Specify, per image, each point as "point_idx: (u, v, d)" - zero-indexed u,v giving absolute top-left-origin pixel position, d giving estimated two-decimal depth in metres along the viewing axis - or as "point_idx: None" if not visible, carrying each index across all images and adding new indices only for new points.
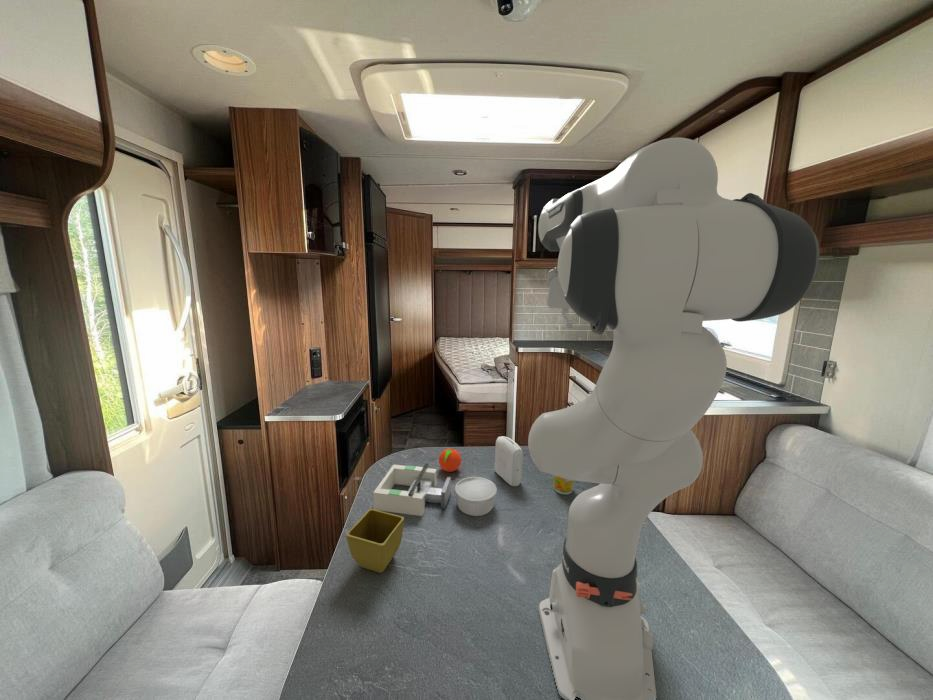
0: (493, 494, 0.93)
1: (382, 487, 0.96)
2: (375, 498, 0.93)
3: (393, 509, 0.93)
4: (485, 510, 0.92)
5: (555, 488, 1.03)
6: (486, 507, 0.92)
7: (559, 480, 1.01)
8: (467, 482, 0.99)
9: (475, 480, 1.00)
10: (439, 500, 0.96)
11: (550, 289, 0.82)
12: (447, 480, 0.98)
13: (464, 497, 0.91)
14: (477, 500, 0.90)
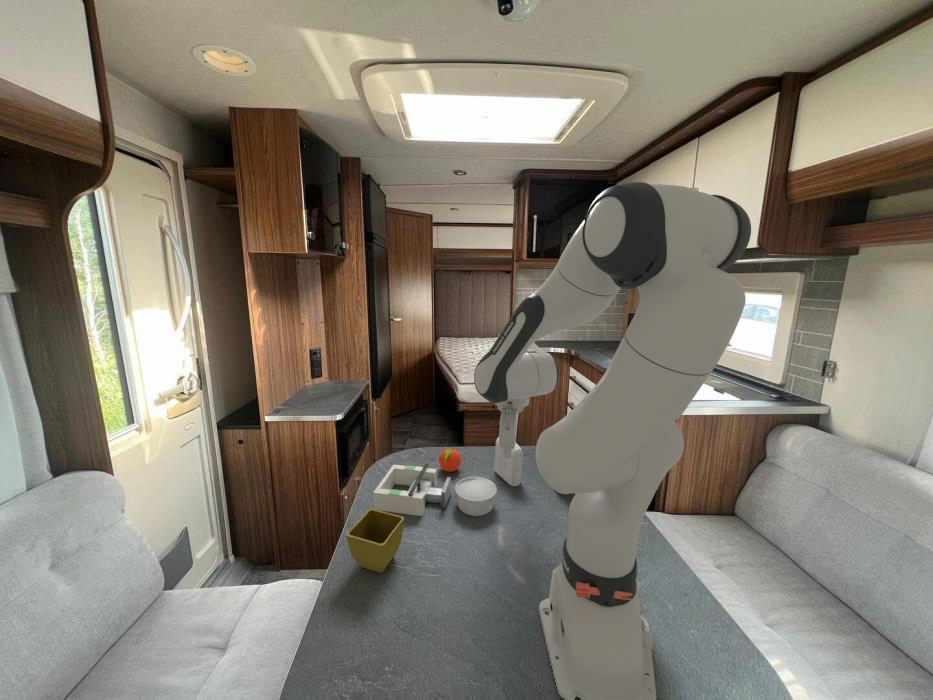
0: (493, 494, 0.93)
1: (382, 487, 0.96)
2: (375, 498, 0.93)
3: (393, 509, 0.93)
4: (485, 510, 0.92)
5: None
6: (486, 507, 0.92)
7: None
8: (467, 482, 0.99)
9: (475, 480, 1.00)
10: (439, 500, 0.96)
11: (515, 432, 0.80)
12: (447, 480, 0.98)
13: (464, 497, 0.91)
14: (477, 500, 0.90)
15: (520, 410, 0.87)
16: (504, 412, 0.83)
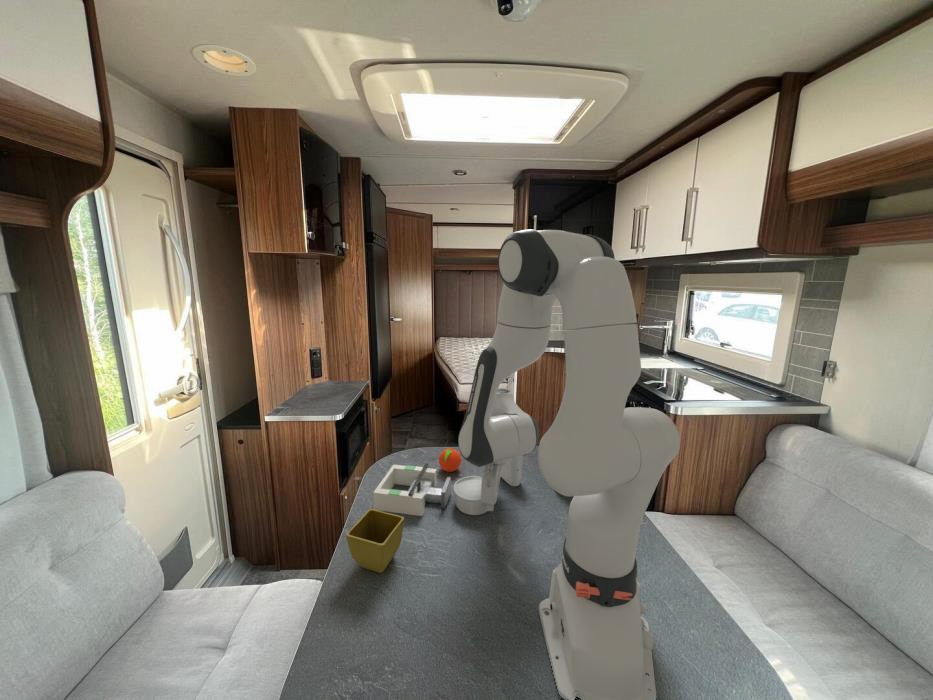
0: None
1: (382, 487, 0.96)
2: (375, 498, 0.93)
3: (393, 509, 0.93)
4: (483, 510, 0.92)
5: None
6: (484, 507, 0.92)
7: None
8: (466, 481, 0.99)
9: (474, 479, 1.00)
10: (439, 500, 0.96)
11: (495, 489, 0.84)
12: (447, 480, 0.98)
13: (462, 496, 0.91)
14: (475, 499, 0.90)
15: (502, 464, 0.91)
16: (486, 468, 0.87)
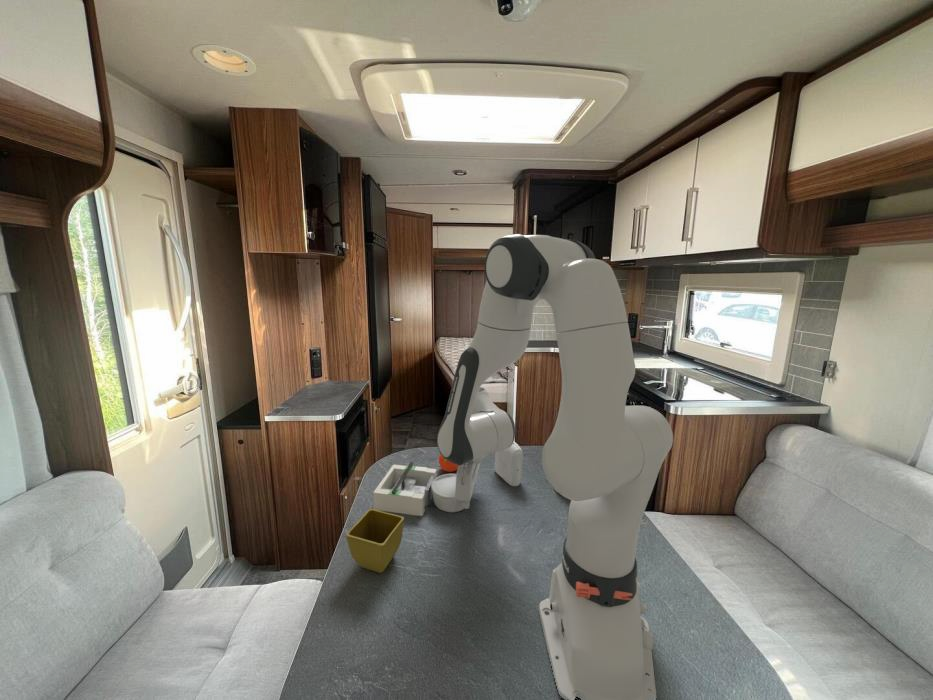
0: None
1: (382, 487, 0.96)
2: (375, 498, 0.93)
3: (393, 509, 0.93)
4: (459, 507, 0.93)
5: None
6: (460, 504, 0.93)
7: None
8: (446, 478, 1.00)
9: (454, 477, 1.01)
10: None
11: (469, 486, 0.85)
12: (431, 478, 0.99)
13: (438, 493, 0.93)
14: (450, 496, 0.91)
15: (478, 462, 0.92)
16: (461, 466, 0.87)
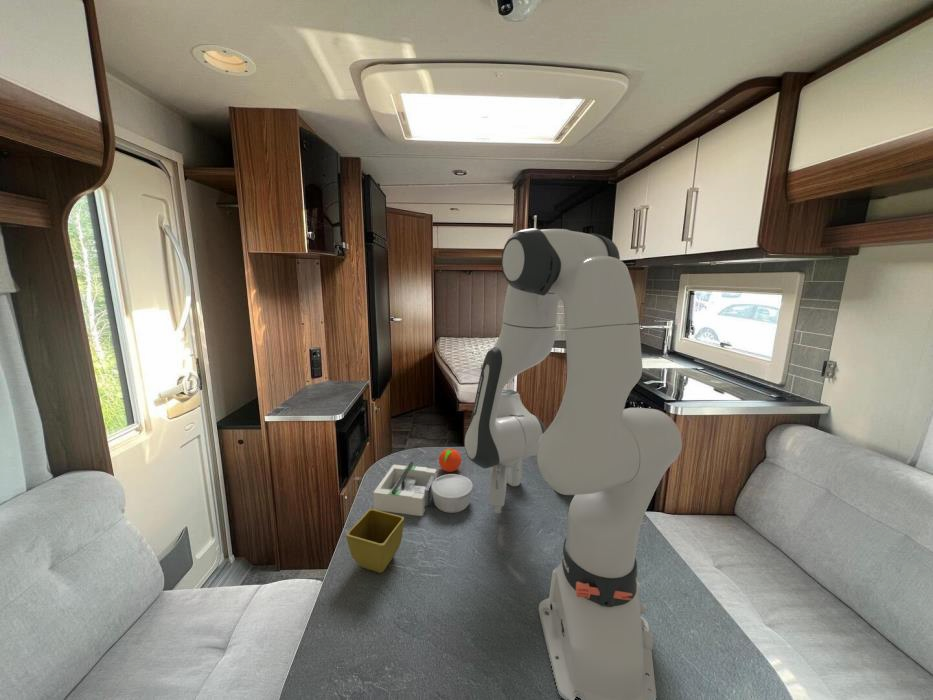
0: (467, 492, 0.93)
1: (382, 487, 0.96)
2: (375, 498, 0.93)
3: (393, 509, 0.93)
4: (459, 508, 0.93)
5: None
6: (460, 505, 0.93)
7: None
8: (446, 479, 1.00)
9: (454, 477, 1.01)
10: None
11: (504, 491, 0.83)
12: (431, 478, 0.99)
13: (438, 493, 0.93)
14: (450, 497, 0.91)
15: (510, 466, 0.90)
16: (494, 470, 0.86)
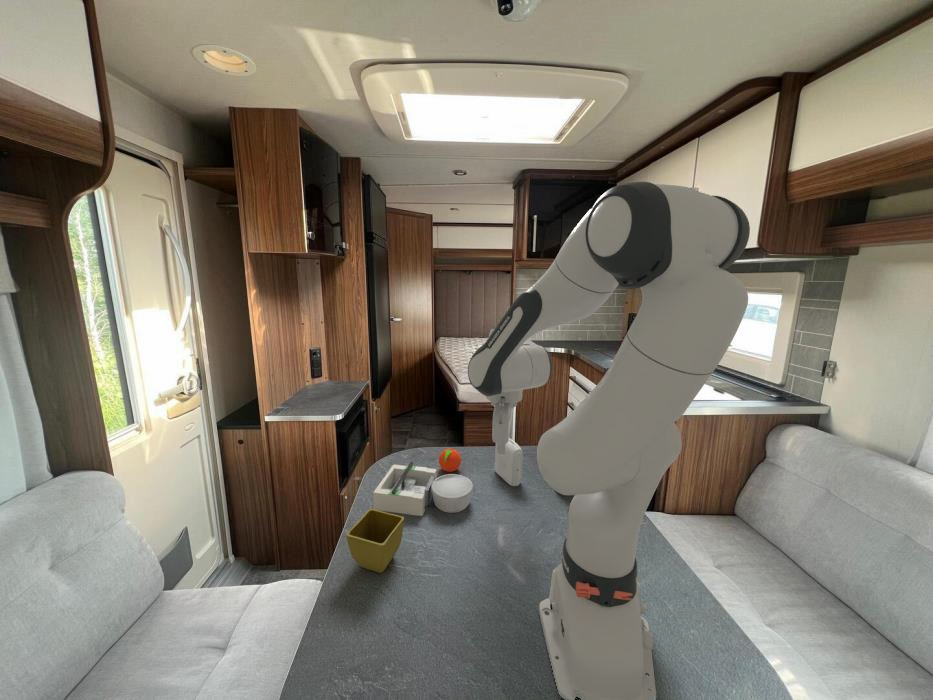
0: (467, 492, 0.93)
1: (382, 487, 0.96)
2: (375, 498, 0.93)
3: (393, 509, 0.93)
4: (459, 508, 0.93)
5: None
6: (460, 505, 0.93)
7: None
8: (446, 479, 1.00)
9: (454, 477, 1.01)
10: None
11: (508, 425, 0.80)
12: (431, 478, 0.99)
13: (438, 493, 0.93)
14: (450, 497, 0.91)
15: (513, 405, 0.87)
16: (497, 407, 0.83)
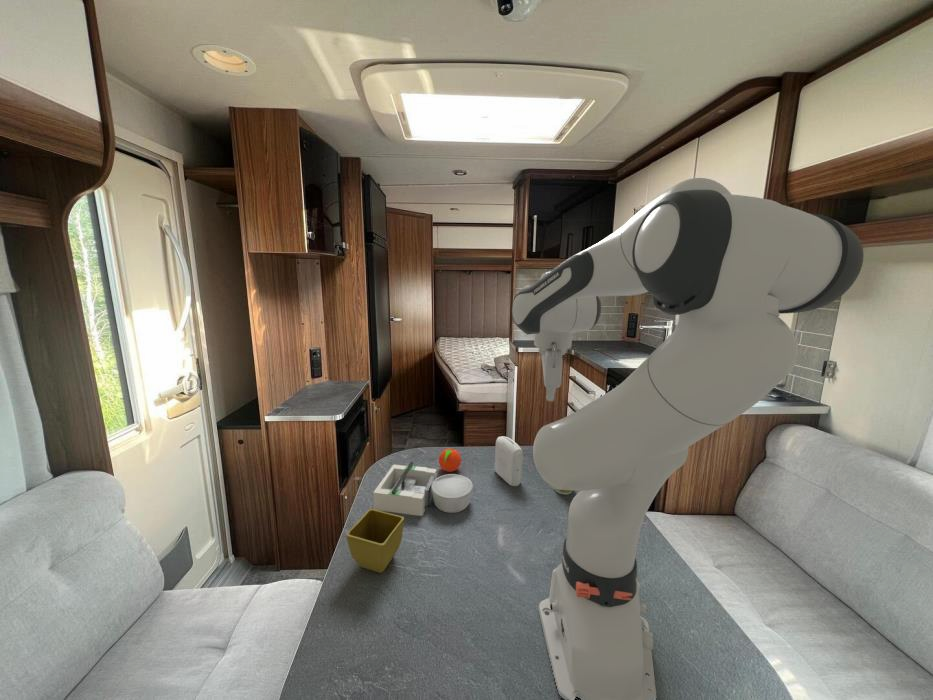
0: (467, 492, 0.93)
1: (382, 487, 0.96)
2: (375, 498, 0.93)
3: (393, 509, 0.93)
4: (459, 508, 0.93)
5: None
6: (460, 505, 0.93)
7: None
8: (446, 479, 1.00)
9: (454, 477, 1.01)
10: None
11: (561, 369, 0.79)
12: (431, 478, 0.99)
13: (438, 493, 0.93)
14: (450, 497, 0.91)
15: (563, 353, 0.86)
16: (549, 352, 0.82)
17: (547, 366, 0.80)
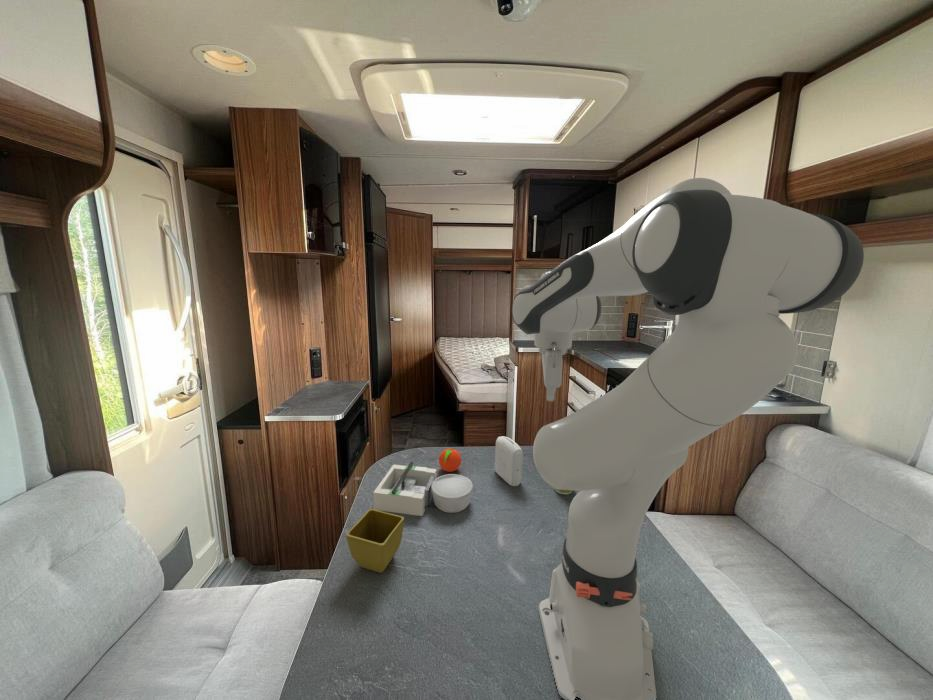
0: (467, 492, 0.93)
1: (382, 487, 0.96)
2: (375, 498, 0.93)
3: (393, 509, 0.93)
4: (459, 508, 0.93)
5: None
6: (460, 505, 0.93)
7: None
8: (446, 479, 1.00)
9: (454, 477, 1.01)
10: None
11: (561, 369, 0.79)
12: (431, 478, 0.99)
13: (438, 493, 0.93)
14: (450, 497, 0.91)
15: (563, 352, 0.86)
16: (549, 351, 0.82)
17: (547, 366, 0.80)
